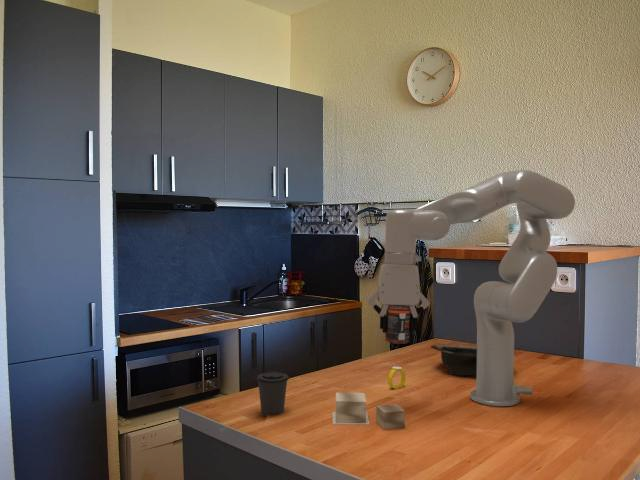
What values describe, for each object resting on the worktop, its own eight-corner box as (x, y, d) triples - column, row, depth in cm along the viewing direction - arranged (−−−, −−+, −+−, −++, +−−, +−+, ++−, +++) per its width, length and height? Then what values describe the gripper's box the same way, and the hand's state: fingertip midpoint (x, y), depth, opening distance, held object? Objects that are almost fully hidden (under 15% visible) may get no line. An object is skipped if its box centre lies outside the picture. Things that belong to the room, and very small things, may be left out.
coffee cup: (263, 421, 134) (263, 379, 134) (251, 411, 142) (251, 371, 141) (294, 416, 138) (294, 375, 138) (281, 406, 145) (281, 367, 145)
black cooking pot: (454, 382, 168) (453, 351, 168) (420, 368, 192) (419, 340, 192) (528, 376, 173) (527, 346, 174) (486, 363, 198) (485, 336, 198)
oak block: (396, 420, 134) (396, 404, 133) (404, 428, 129) (404, 410, 129) (376, 422, 132) (376, 405, 132) (383, 430, 128) (383, 412, 127)
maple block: (364, 413, 139) (364, 392, 139) (366, 423, 132) (366, 401, 132) (335, 412, 139) (335, 392, 139) (335, 422, 132) (335, 401, 132)
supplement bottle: (408, 345, 138) (410, 298, 137) (384, 343, 139) (385, 297, 139) (410, 340, 143) (411, 296, 143) (386, 339, 145) (387, 294, 144)
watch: (399, 386, 166) (400, 365, 166) (406, 388, 164) (408, 367, 164) (385, 388, 162) (386, 367, 162) (392, 390, 160) (393, 369, 160)
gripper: (432, 260, 144) (429, 331, 145) (364, 257, 145) (361, 328, 145) (437, 261, 137) (435, 336, 137) (365, 259, 137) (363, 333, 138)
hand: (397, 331), depth 141 cm, fingers closed on supplement bottle, 6 cm apart
